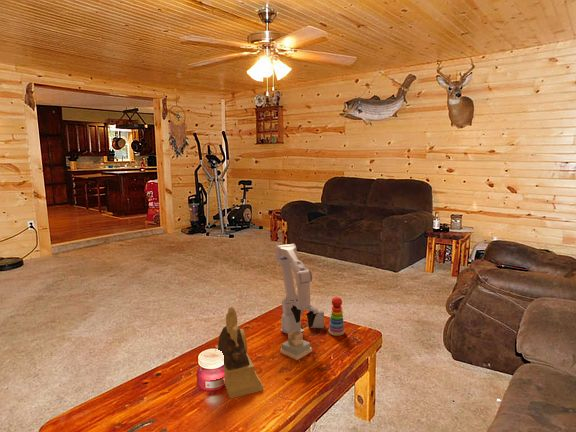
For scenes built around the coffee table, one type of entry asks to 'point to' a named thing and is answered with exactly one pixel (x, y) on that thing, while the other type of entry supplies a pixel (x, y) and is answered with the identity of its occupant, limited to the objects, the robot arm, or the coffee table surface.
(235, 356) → the seated figure statue
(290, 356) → the bottom slab
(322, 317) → the medicine box
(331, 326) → the stacking toy
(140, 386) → the coffee table surface
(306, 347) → the top slab
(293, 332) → the ash cube
